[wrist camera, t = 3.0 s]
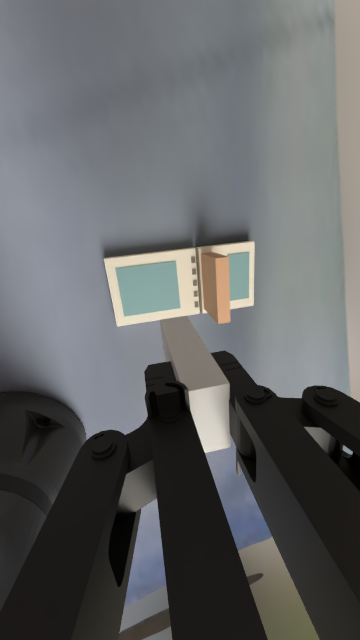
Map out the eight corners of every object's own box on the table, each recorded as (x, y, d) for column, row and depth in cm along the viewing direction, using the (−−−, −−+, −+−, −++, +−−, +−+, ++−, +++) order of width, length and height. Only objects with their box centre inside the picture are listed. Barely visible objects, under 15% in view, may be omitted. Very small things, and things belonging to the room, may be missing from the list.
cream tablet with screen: (117, 322, 28) (117, 326, 27) (104, 257, 25) (103, 259, 24) (196, 310, 29) (199, 313, 28) (192, 247, 27) (195, 248, 26)
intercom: (199, 310, 29) (216, 329, 24) (195, 247, 27) (212, 252, 21) (248, 302, 30) (275, 319, 25) (249, 240, 28) (278, 244, 22)
